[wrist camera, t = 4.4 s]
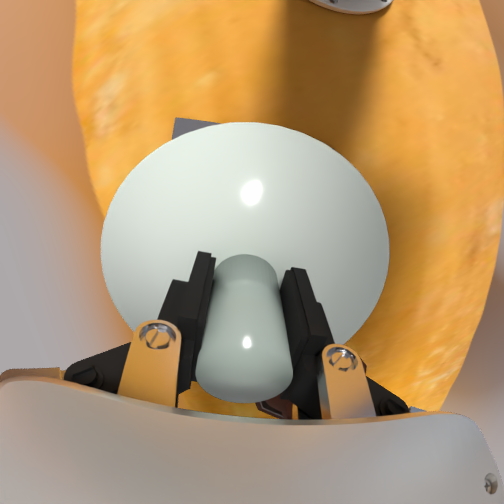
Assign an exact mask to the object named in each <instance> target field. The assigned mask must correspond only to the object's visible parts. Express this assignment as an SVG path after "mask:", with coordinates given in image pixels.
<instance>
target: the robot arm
mask: <svg viewBox="0 0 504 504" xmlns="http://www.w3.org/2000/svg"><path fill="white" fill-rule="evenodd" d="M309 1H311V2H313V3H315V4H317V5H319V6H322V7H325V8H327V9H330V10H333V11H338V12H342V13H348V14H368V13H373V12H377V11H379V10H381V9H383V8H385V7H386V6H387V5H389V4H390V3H391V2H392V1H393V0H309ZM331 2H332V3H331ZM211 255H212V253H208V252H202V251H198V252H197V256H196V259H195V262H194V265H193V268H192V271H191V274H190V278H189V281H188V282H186V281H181V280H175V279H173V280H172V282H171V284H170V287H169V289H168V292H167V295H166V297H165V300H164V302H163V305H162V308H161V310H160V313H159V316H158V318H157V320H149V321H146V322H143V323H141V324H140V325H139V326H138V327H137V328H136V330H135V332H134V335H133V339H132V342H130V343H127V344H124V345H121V346H119V347H116V348H113V349H111V350H108V351H106V352H103V353H100V354H97V355H94V356H92V357H89V358H86V359H83V360H81V361H78V362H76V363H74V364H72V365H71V366H70V367H69V368H67V370H63V371H61V370H60V368H59V367H56V368H32V369H9V370H6V371H4V372H3V373H2V374H1V375H0V504H504V486H503V483H502V479H501V476H500V474H499V470H498V468H497V465H496V463H495V460H494V458H493V455H492V453H491V450H490V448H489V446H488V444H487V442H486V440H485V438H484V436H483V434H482V432H481V431H480V429H479V427H478V426H477V425H476V423H475V422H474V421H473V420H471V419H470V418H468V417H466V416H463V415H461V414H457V413H452V412H442V411H425V410H422V409H418V408H415V407H412V406H411V407H410V408H409V409H408V406H407V405H406V403H405V402H404V401H403V400H402V399H400V398H399V397H398V396H396V395H394V394H393V393H391V392H390V391H388V390H387V389H385V388H384V387H382V386H381V385H379V384H378V383H376V382H375V381H373V380H371V379H370V378H368V377H367V376H366V375H365V372H364V368H363V365H362V361H361V359H360V357H359V355H358V354H357V353H356V352H355V351H354V350H352V349H351V348H349V347H347V346H345V345H341V344H335V342H334V339H333V336H332V333H331V330H330V327H329V324H328V321H327V318H326V315H325V312H324V309H323V306H322V304H321V303H320V302H317V301H316V298H315V295H314V292H313V289H312V286H311V283H310V280H309V277H308V274H307V271H306V269H302V268H296V267H291V269H290V270H286V271H285V274H284V277H283V281H282V284H281V287H280V295H281V301H282V307H283V313H284V319H285V325H286V331H287V338H288V344H289V350H290V356H291V363H292V369H293V378H292V381H291V383H290V385H289V386H288V387H287V388H286V389H285V390H284V391H283V392H282V393H280V399H283V400H289V401H291V402H292V403H293V408H292V415H293V420H289V419H266V418H251V417H240V416H230V415H221V414H213V413H206V412H199V411H193V410H187V409H180V408H178V399H179V394H180V393H182V392H184V391H186V390H188V389H190V386H191V381H196V382H197V379H196V365H197V359H198V354H199V352H200V350H201V346H202V340H203V334H204V328H205V322H206V316H207V310H208V304H209V298H210V293H211V287H212V282H213V276H214V269H215V263H216V257H211Z"/></svg>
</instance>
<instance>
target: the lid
mask: <svg viewBox="0 0 504 504" xmlns="http://www.w3.org/2000/svg"><path fill="white" fill-rule="evenodd" d="M198 251H202V252H208V253H212V255H211V257H216V263H215V269H214V276H213V282H212V287H211V293H210V298H209V304H208V310H207V316H206V322H205V328H204V334H203V340H202V346H201V350H200V352H199V354H198V359H197V365H196V379H197V381H198V383H199V385H200V386H201V387H202V388H203V389H204V390H205V391H206V392H207V393H209V394H210V395H212V396H214V397H216V398H219V399H221V400H225V401H229V402H235V403H255V402H261V401H265V400H268V399H271V398H273V397H275V396H277V395H279V394H280V393H282V392H283V391H284V390H285V389H286V388H287V387H288V386H289V385H290V383H291V381H292V378H293V369H292V363H291V356H290V350H289V344H288V338H287V331H286V325H285V319H284V313H283V307H282V301H281V295H280V287H281V284H282V281H283V277H284V274H285V271H286V270H290V269H291V267H296V268H302V269H306V271H307V274H308V277H309V280H310V283H311V286H312V289H313V292H314V295H315V298H316V301H317V302H320V303H321V304H322V306H323V309H324V312H325V315H326V318H327V321H328V324H329V327H330V330H331V333H332V336H333V339H334V342H335V344H341V345H343V344H344V343H346V342H347V341H348V340H349V339H350V338H351V337H352V336H353V335H354V334H355V333H356V332H357V331H358V330H359V329H360V328H361V326H362V325H363V324H364V322H365V321H366V320H367V319H368V317H369V316H370V314H371V312H372V311H373V309H374V307H375V306H376V304H377V302H378V300H379V297H380V295H381V293H382V290H383V288H384V284H385V280H386V277H387V273H388V265H389V256H390V254H389V236H388V230H387V225H386V220H385V218H384V215H383V212H382V209H381V206H380V204H379V202H378V200H377V198H376V196H375V194H374V192H373V190H372V189H371V187H370V186H369V184H368V183H367V182H366V180H365V179H364V178H363V176H362V175H361V174H360V172H359V171H358V170H357V169H356V168H355V167H354V166H353V165H352V164H351V163H350V162H349V161H347V160H346V159H345V158H344V157H343V156H342V155H340V154H339V153H338V152H336V151H335V150H333V149H332V148H330V147H329V146H328V145H326V144H325V143H323V142H321V141H319V140H317V139H314V138H312V137H310V136H308V135H306V134H304V133H301V132H298V131H295V130H292V129H288V128H285V127H282V126H278V125H272V124H265V123H258V122H231V123H224V124H218V125H212V126H208V127H204V128H201V129H198V130H195V131H192V132H189V133H186V134H183V135H181V136H179V137H177V138H175V139H173V140H171V141H169V142H167V143H165V144H163V145H162V146H161V147H159V148H158V149H156V150H155V151H153V152H152V153H151V154H149V155H148V156H147V157H145V158H144V159H143V160H142V161H141V162H140V163H139V164H138V165H137V166H136V167H135V168H134V169H133V170H132V171H131V172H130V173H129V175H128V176H127V177H126V179H125V180H124V182H123V183H122V184H121V186H120V187H119V188H118V190H117V192H116V194H115V196H114V198H113V200H112V202H111V204H110V206H109V209H108V212H107V215H106V218H105V221H104V226H103V232H102V238H101V261H102V269H103V275H104V279H105V282H106V285H107V289H108V291H109V294H110V296H111V298H112V301H113V303H114V305H115V306H116V308H117V310H118V311H119V313H120V314H121V316H122V317H123V319H124V320H125V321H126V323H127V324H128V326H130V328H131V329H132V330H133V331H134V332H135V330H136V328H137V327H138V326H139V325H140V324H141V323H143V322H146V321H149V320H157V318H158V316H159V313H160V310H161V308H162V305H163V302H164V300H165V297H166V295H167V292H168V289H169V287H170V284H171V282H172V280H173V279H175V280H181V281H186V282H188V281H189V278H190V274H191V271H192V268H193V265H194V262H195V259H196V256H197V252H198Z"/></svg>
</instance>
